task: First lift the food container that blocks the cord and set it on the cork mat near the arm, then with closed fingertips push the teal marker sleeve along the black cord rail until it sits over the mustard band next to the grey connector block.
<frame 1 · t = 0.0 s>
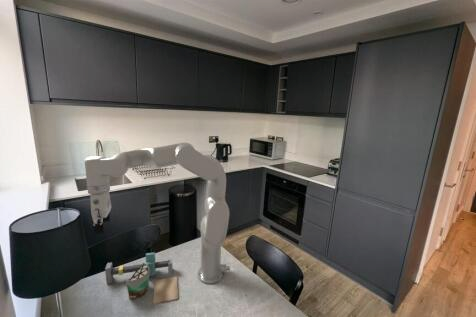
hand: (102, 227, 93), 31 cm above the table, fingers open, 9 cm apart
food container: (142, 292, 101), on the table
sleeve: (150, 262, 110), point 6 cm above the table, slide at 0.0 cm
mat: (166, 290, 102), on the table
cord rail: (142, 275, 110), on the table
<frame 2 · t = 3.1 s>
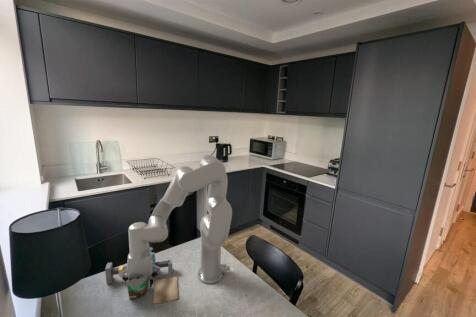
hand: (140, 286, 100), 3 cm above the table, fingers open, 7 cm apart
food container: (142, 292, 101), on the table, touching gripper
everything else where it was.
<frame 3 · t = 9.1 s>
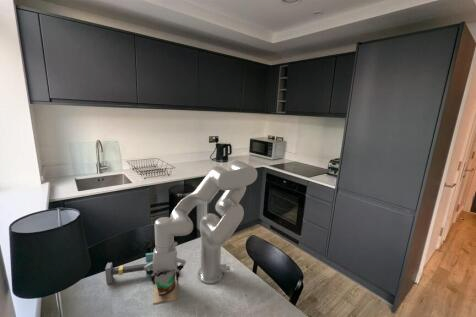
hand: (165, 280, 101), 5 cm above the table, fingers open, 9 cm apart
food container: (170, 288, 103), point 1 cm above the table, touching mat
everything else where it was.
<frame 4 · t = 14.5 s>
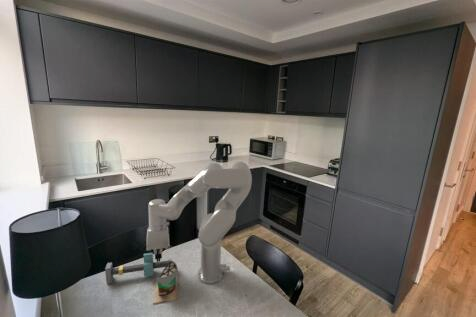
hand: (158, 259, 111), 7 cm above the table, fingers closed
sleeve: (148, 263, 110), point 6 cm above the table, slide at 1.0 cm, touching gripper
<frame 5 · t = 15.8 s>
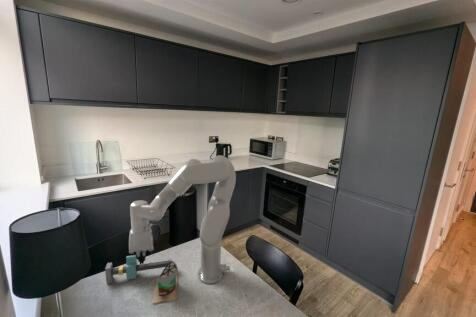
hand: (141, 262, 109), 7 cm above the table, fingers closed
sleeve: (131, 265, 108), point 6 cm above the table, slide at 8.4 cm, touching gripper
everything else where it was.
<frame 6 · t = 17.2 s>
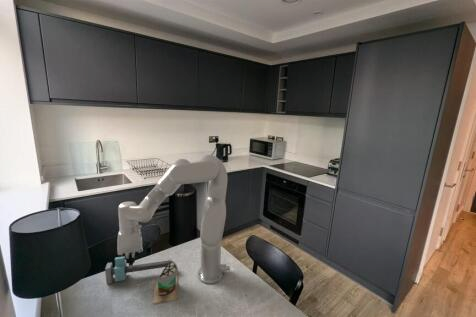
hand: (131, 263, 108), 7 cm above the table, fingers closed
sleeve: (120, 267, 106), point 6 cm above the table, slide at 13.1 cm, touching gripper
everything else where it was.
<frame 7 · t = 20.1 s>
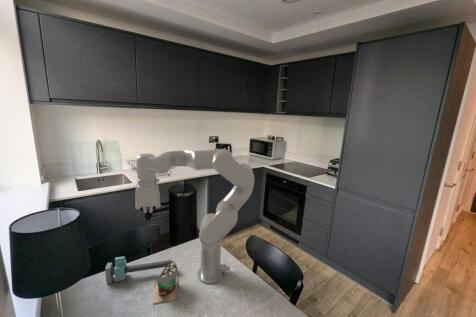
hand: (148, 219, 105), 29 cm above the table, fingers closed
sleeve: (120, 267, 106), point 6 cm above the table, slide at 13.2 cm
everything else where it was.
at the end: sleeve slide at 13.2 cm; food container 2.0 cm from the mat (horizontally); food container tilted 0° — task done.
